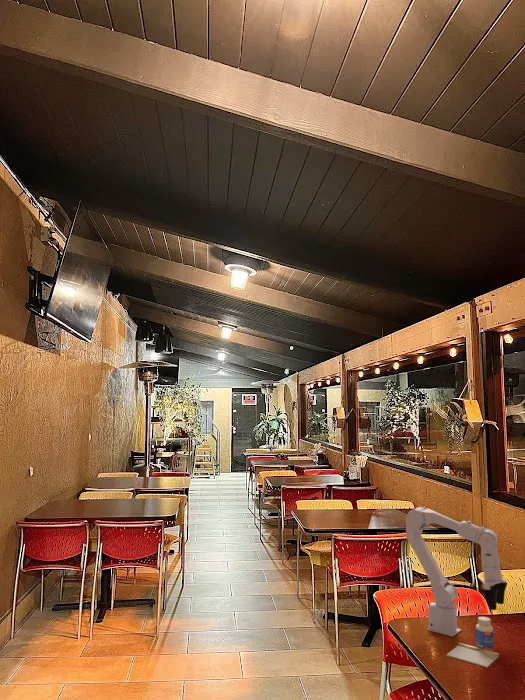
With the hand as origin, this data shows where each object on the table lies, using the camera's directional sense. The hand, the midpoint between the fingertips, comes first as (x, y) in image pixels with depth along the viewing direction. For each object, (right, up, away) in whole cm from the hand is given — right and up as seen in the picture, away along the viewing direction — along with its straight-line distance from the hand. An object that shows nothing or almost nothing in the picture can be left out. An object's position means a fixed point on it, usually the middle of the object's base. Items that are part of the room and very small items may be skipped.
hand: (496, 606), depth 196 cm
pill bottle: (-7, -11, -8) cm, 15 cm away
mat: (-14, -10, -14) cm, 22 cm away
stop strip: (-10, -10, -10) cm, 18 cm away
